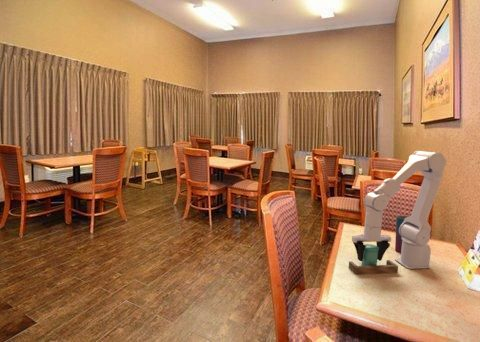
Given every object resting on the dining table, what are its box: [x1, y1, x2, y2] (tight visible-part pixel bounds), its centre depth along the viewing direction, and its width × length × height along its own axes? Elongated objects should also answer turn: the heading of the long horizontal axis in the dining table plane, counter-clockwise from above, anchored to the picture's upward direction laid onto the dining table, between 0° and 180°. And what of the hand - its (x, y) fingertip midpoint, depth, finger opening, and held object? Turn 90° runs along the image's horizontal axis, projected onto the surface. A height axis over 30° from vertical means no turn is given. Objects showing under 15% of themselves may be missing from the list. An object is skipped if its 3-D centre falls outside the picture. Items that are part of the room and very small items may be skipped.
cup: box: [394, 214, 410, 254], centre depth 126 cm, size 7×7×15 cm
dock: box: [348, 259, 399, 275], centre depth 109 cm, size 16×5×2 cm, turn 98°
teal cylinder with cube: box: [361, 243, 379, 266], centre depth 112 cm, size 6×8×8 cm
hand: (369, 259), depth 111 cm, fingers open, 7 cm apart
